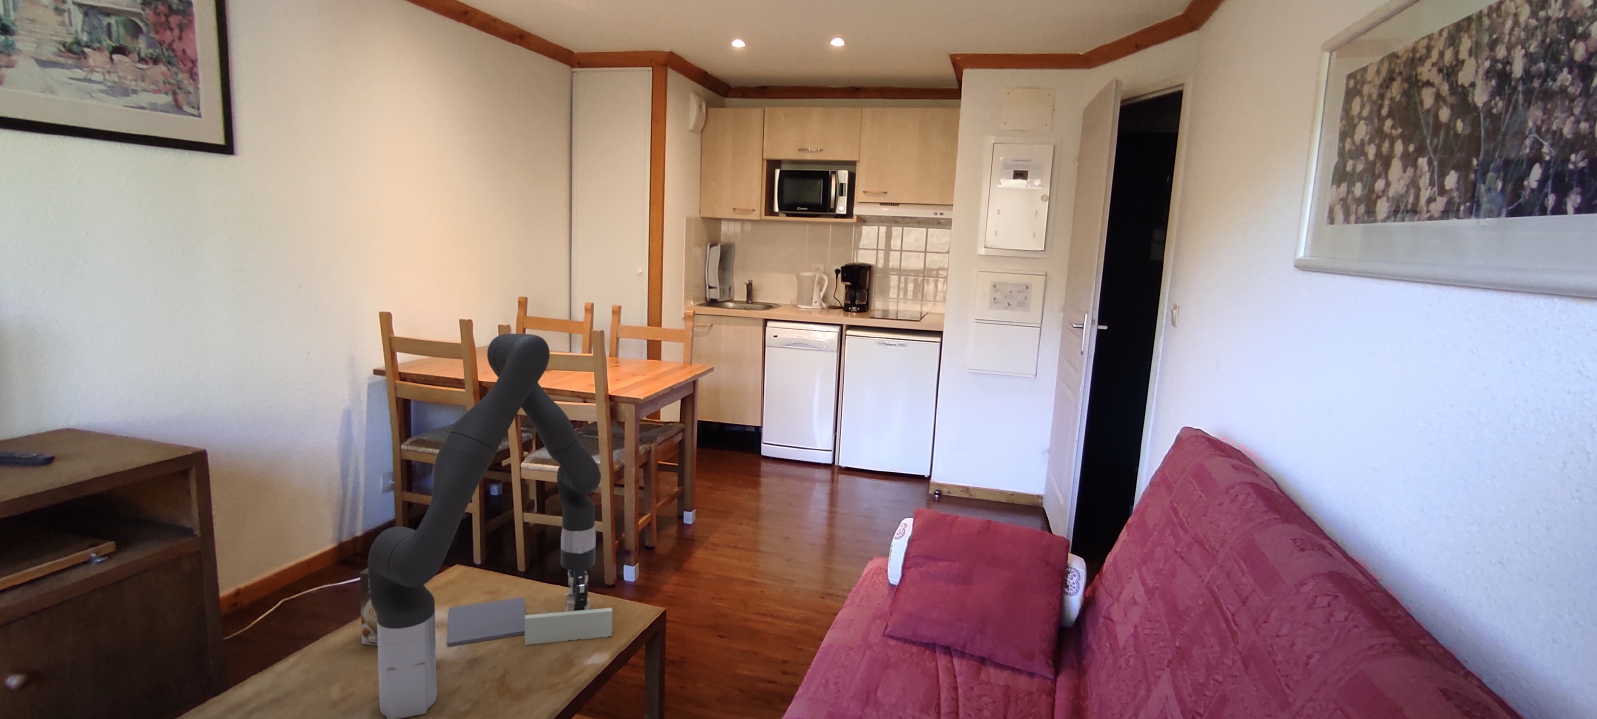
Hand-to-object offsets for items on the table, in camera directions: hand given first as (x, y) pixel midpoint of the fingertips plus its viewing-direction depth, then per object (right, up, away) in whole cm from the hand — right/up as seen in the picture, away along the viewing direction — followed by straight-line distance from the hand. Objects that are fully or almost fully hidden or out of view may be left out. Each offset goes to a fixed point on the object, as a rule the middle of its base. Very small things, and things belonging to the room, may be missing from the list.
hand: (577, 613), depth 165 cm
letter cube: (0, -1, 0) cm, 1 cm away
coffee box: (-36, -1, -13) cm, 38 cm away
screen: (+1, -2, -9) cm, 10 cm away
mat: (-19, 0, -4) cm, 19 cm away
